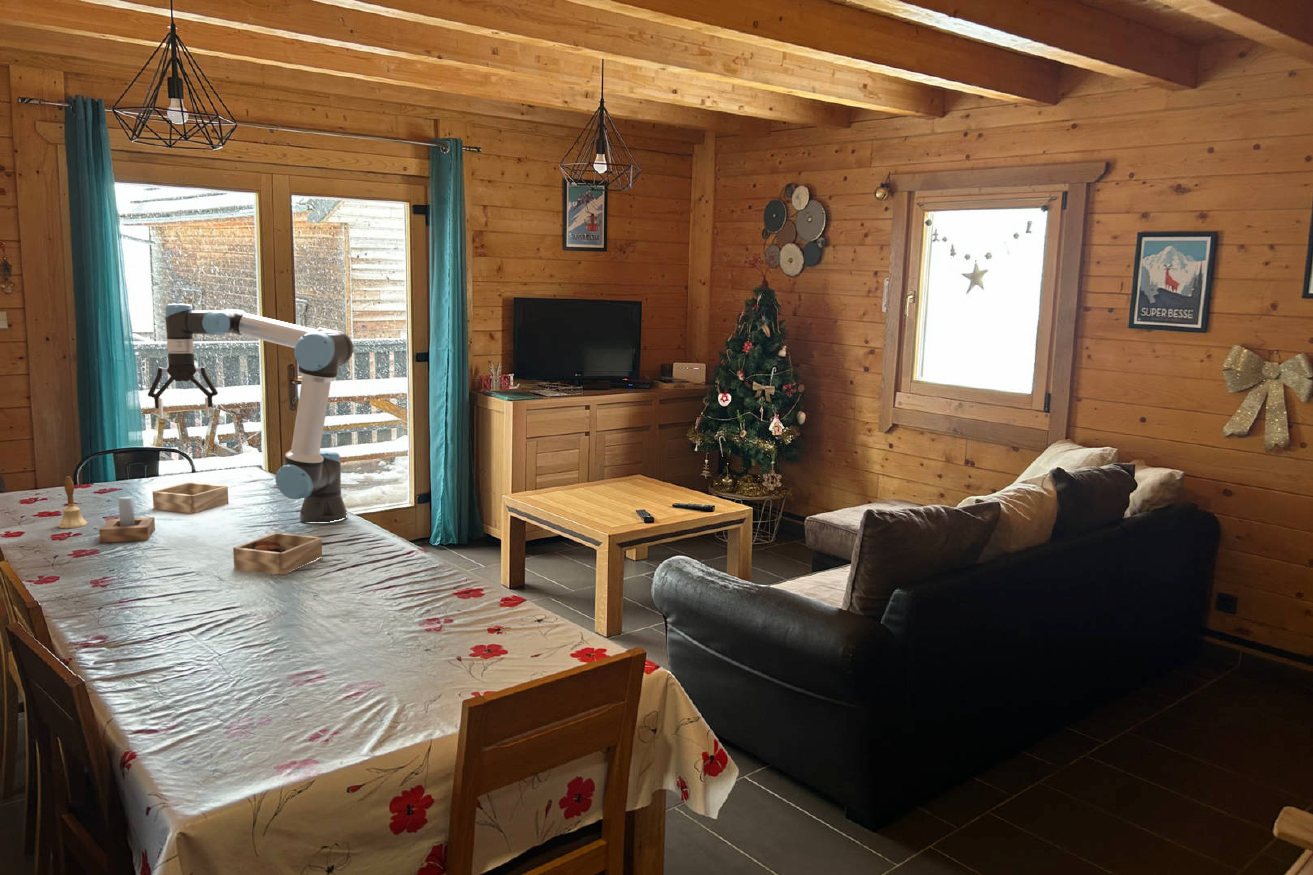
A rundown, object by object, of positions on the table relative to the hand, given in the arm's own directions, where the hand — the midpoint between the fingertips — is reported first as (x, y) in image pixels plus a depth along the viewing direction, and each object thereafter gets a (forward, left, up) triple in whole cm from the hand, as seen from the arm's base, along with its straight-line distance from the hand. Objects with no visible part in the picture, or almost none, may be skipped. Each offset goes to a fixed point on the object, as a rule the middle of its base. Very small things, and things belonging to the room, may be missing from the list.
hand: (184, 417), depth 313 cm
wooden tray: (+15, -17, -34) cm, 41 cm away
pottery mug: (-56, +33, -35) cm, 74 cm away
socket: (+4, +22, -34) cm, 41 cm away
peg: (+4, +22, -34) cm, 41 cm away
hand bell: (+30, +18, -35) cm, 49 cm away
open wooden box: (-57, +30, -34) cm, 73 cm away
